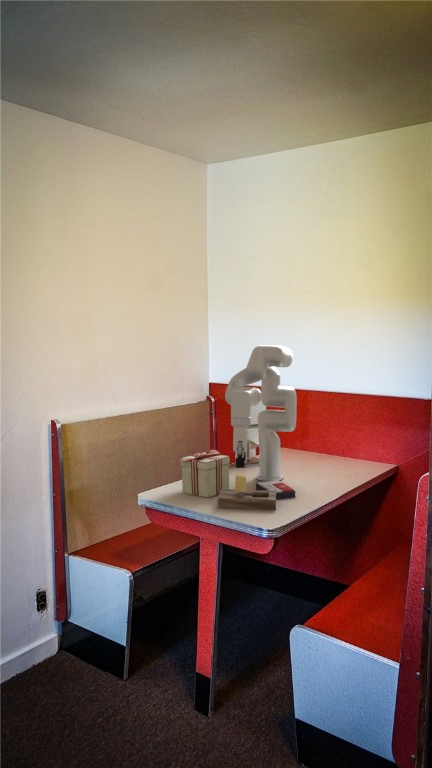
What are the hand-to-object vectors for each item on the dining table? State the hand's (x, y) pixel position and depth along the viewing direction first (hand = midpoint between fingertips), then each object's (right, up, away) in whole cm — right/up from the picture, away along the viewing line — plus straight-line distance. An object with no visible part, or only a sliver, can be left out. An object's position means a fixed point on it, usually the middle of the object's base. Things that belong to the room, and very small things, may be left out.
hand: (241, 464), depth 241 cm
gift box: (-16, -14, +20) cm, 29 cm away
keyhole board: (+3, -16, +1) cm, 16 cm away
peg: (0, -16, +1) cm, 16 cm away
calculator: (+15, -15, +16) cm, 27 cm away
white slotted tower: (+8, -9, +70) cm, 71 cm away
